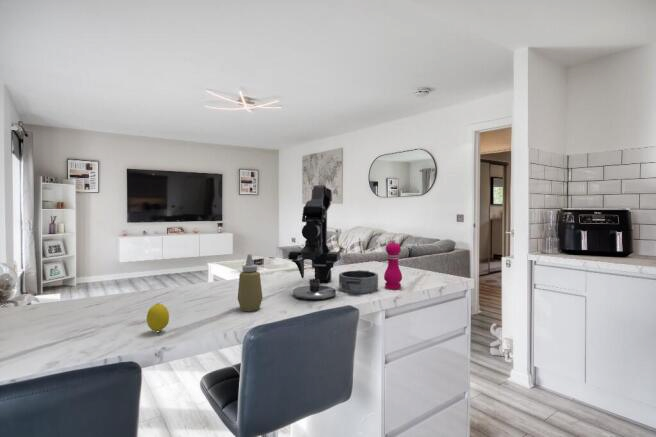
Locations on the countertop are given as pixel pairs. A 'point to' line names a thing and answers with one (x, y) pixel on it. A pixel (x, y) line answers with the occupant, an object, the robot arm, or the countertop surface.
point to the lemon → (157, 317)
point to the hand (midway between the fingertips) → (314, 278)
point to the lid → (314, 291)
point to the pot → (358, 282)
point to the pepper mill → (393, 266)
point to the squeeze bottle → (249, 287)
